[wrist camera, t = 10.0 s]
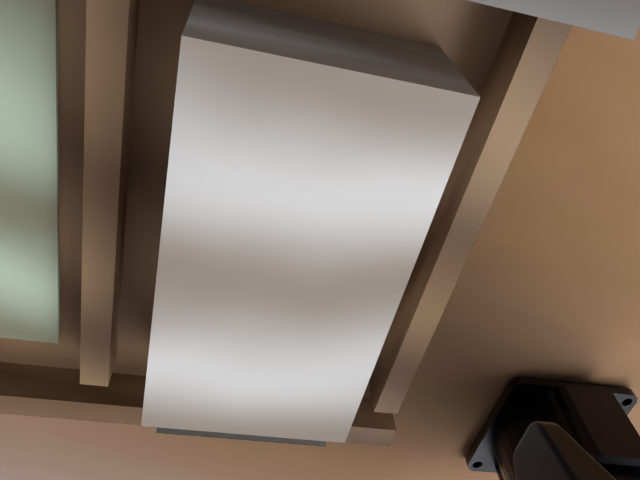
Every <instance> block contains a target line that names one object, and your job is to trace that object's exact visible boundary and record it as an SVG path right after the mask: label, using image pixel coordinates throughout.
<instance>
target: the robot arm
mask: <svg viewBox="0 0 640 480" xmlns="http://www.w3.org/2000/svg"><path fill="white" fill-rule="evenodd" d="M636 402H637V397H636V395H635V394H634V392H633V391H632V390H631V389H627V388H618V387H609V386H600V385H591V384H582V383H573V382H564V381H555V380H546V379H537V378H528V377H518V378H515V379H513V380H511V381H510V383H509V384H508V386H507V387H506V389H505V391H504V393H503V394H502V396H501V398H500V399H499V401H498V403H497V405H496V406H495V408H494V410H493V412H492V413H491V415H490V417H489V419H488V420H487V422H486V424H485V425H484V427H483V429H482V431H481V432H480V434H479V436H478V438H477V439H476V441H475V443H474V445H473V446H472V448H471V450H470V452H469V453H468V455H467V457H466V463H467V466H468V468H469V469H470V470H473V471H483V472H496V473H497V474H498V477H499V480H640V436H639V434H638V433H637V431H636V430H635V428H634V426H633V425H632V423H631V421H630V420H629V418H628V417H627V415H628V413H629V412H630V411H631V409H632V408H633V407H634V405H635V404H636Z"/></svg>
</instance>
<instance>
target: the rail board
mask: <svg viewBox="0 0 640 480" xmlns="http://www.w3.org/2000/svg"><path fill="white" fill-rule="evenodd" d="M572 25H573V26H577V27H581V28H585V29H590V30H594V31H598V32H602V33H606V34H611V35H615V36H619V37H623V38H627V39H632V40H634V38H635V36H636V34H637V32H638V30H639V28H640V0H0V413H4V414H16V415H28V416H40V417H52V418H64V419H76V420H88V421H99V422H111V423H123V424H135V425H141V426H147V427H157V431H156V433H166V434H178V435H190V436H202V437H215V438H227V439H239V440H252V441H264V442H276V443H288V444H301V445H313V446H325V445H326V442H327V441H328V442H340V443H345V442H351V443H363V444H375V445H387V446H389V445H390V443H391V441H392V438H393V436H394V434H395V432H396V428H395V423H394V418H393V414H398V412H399V410H400V407H401V405H402V403H403V401H404V399H405V396H406V394H407V392H408V390H409V387H410V385H411V383H412V381H413V379H414V376H415V374H416V372H417V370H418V367H419V365H420V363H421V361H422V358H423V356H424V354H425V352H426V350H427V347H428V345H429V343H430V341H431V338H432V336H433V334H434V332H435V330H436V327H437V325H438V323H439V321H440V318H441V316H442V314H443V312H444V310H445V307H446V305H447V303H448V301H449V298H450V296H451V294H452V292H453V289H454V287H455V285H456V283H457V281H458V278H459V276H460V274H461V272H462V269H463V267H464V265H465V263H466V261H467V258H468V256H469V254H470V252H471V249H472V247H473V245H474V243H475V241H476V238H477V236H478V234H479V232H480V229H481V227H482V225H483V223H484V221H485V218H486V216H487V214H488V212H489V209H490V207H491V205H492V203H493V200H494V198H495V196H496V194H497V192H498V189H499V187H500V185H501V183H502V180H503V178H504V176H505V174H506V172H507V169H508V167H509V165H510V163H511V160H512V158H513V156H514V154H515V152H516V149H517V147H518V145H519V143H520V140H521V138H522V136H523V134H524V131H525V129H526V127H527V125H528V123H529V120H530V118H531V116H532V114H533V111H534V109H535V107H536V105H537V103H538V100H539V98H540V96H541V94H542V91H543V89H544V87H545V85H546V83H547V80H548V78H549V76H550V74H551V71H552V69H553V67H554V65H555V63H556V60H557V58H558V56H559V54H560V51H561V49H562V47H563V45H564V42H565V40H566V38H567V36H568V34H569V31H570V29H571V27H572Z"/></svg>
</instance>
